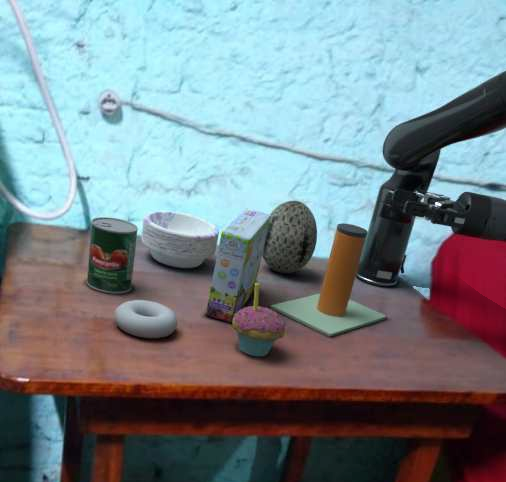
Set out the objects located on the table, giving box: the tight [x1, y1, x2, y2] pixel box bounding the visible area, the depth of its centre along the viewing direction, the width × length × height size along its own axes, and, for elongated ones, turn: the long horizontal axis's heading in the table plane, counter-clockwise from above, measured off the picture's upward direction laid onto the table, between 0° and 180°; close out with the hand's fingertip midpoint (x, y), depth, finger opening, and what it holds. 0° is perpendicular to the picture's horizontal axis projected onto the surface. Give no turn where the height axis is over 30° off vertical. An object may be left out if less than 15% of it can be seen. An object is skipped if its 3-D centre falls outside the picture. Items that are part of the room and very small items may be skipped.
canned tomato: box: [86, 216, 139, 295], centre depth 129 cm, size 8×8×11 cm
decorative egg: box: [262, 200, 318, 274], centre depth 155 cm, size 12×12×15 cm
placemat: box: [269, 293, 387, 338], centre depth 142 cm, size 20×14×1 cm
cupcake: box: [231, 278, 286, 357], centre depth 117 cm, size 9×8×12 cm
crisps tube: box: [317, 222, 368, 317], centre depth 138 cm, size 6×6×16 cm
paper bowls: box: [140, 210, 220, 269], centre depth 150 cm, size 15×15×8 cm
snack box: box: [204, 207, 271, 323], centre depth 133 cm, size 21×6×15 cm, turn 168°
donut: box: [114, 299, 178, 339], centre depth 118 cm, size 10×4×10 cm
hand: (399, 200), depth 132 cm, fingers open, 8 cm apart
